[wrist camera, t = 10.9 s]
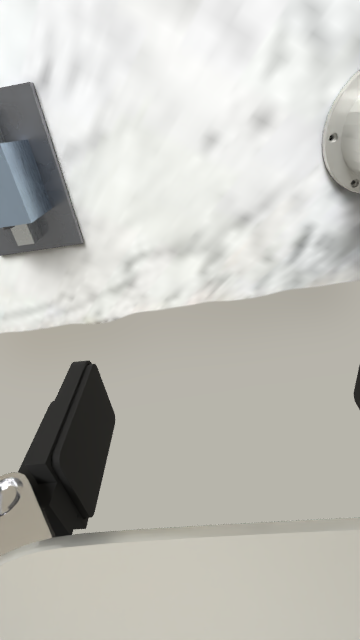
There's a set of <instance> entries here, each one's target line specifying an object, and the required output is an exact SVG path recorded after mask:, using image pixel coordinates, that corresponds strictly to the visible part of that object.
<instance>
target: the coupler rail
mask: <svg viewBox="0 0 360 640" xmlns="http://www.w3.org/2000/svg"><path fill="white" fill-rule="evenodd" d="M27 139H28V141H29V144H30V147H31V150H32V152H33V155H34V158H35V161H36V164H37V167H38V170H39V172H40V175H41V178H42V181H43V184H44V187H45V189H46V192H47V195H48V198H49V201H50V204H51V206H52V209H51V210H49V211H48V212H46V213H45V214H44V215H42V216H41V217H39V218H38V219H36V220H35V221H34V222H32V223H28V224H22V225H15V227H13V228H10V229H6V230H3V229H2V228H0V256H1V255H7V254H14V253H21V252H28V251H34V250H41V249H48V248H55V247H61V246H68V245H75V244H82V243H83V242H84V241H83V237H82V234H81V231H80V228H79V225H78V222H77V219H76V216H75V213H74V209H73V206H72V203H71V200H70V197H69V194H68V191H67V188H66V184H65V181H64V178H63V175H62V172H61V169H60V166H59V163H58V159H57V156H56V153H55V150H54V147H53V144H52V141H51V138H50V135H49V131H48V128H47V125H46V122H45V119H44V116H43V113H42V110H41V106H40V103H39V100H38V97H37V94H36V91H35V88H34V85H33V83H31V82H28V83H23V84H18V85H12V86H7V87H2V88H0V143H6V142H13V141H20V140H27Z"/></svg>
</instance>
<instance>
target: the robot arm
mask: <svg viewBox="0 0 360 640" xmlns="http://www.w3.org/2000/svg"><path fill="white" fill-rule="evenodd" d="M331 135H332V139H331V140H329V138H330V136H331ZM322 148H323V157H324V161H325V165H326V167H327V169H328V171H329V173H330V175H331V176H332V177H333V179H334V180H335V181H336V182H337V183H338V184H340V185H341V186H342V187H344V188H345V189H348V190H350V191H352V192H356V193H359V194H360V70H359V71H358V72H356V73H355V74H354V75H353V76H352V77H351V78H350V80H349V81H348V82H347V83H346V84H345V86H344V87H343V88H342V89H341V91H340V93H339V94H338V96H337V97H336V99H335V100H334V102H333V105H332V107H331V109H330V111H329V113H328V116H327V119H326V123H325V126H324V131H323V140H322ZM352 181H353V183H352V184H351V182H352ZM354 399H355V402H356V404H357V406H358V407H359V409H360V366H359V371H358V375H357V380H356V385H355V389H354ZM114 425H115V414H114V411H113V408H112V406H111V403H110V400H109V398H108V395H107V392H106V390H105V387H104V385H103V382H102V379H101V377H100V374H99V371H98V368H97V366H96V365H95V364H92V363H91V362H90V361H79V362H73V363H72V364H71V366H70V368H69V371H68V373H67V375H66V377H65V379H64V382H63V384H62V386H61V388H60V390H59V392H58V395H57V397H56V399H55V401H53V402H52V403H51V404H50V406H49V407H48V410H47V412H46V414H45V416H44V418H43V420H42V422H41V424H40V427H39V429H38V431H37V433H36V435H35V438H34V439H33V442H32V444H31V446H30V448H29V450H28V452H27V454H26V457H25V458H24V461H23V463H22V465H21V467H20V469H19V471H18V473H17V472H13V473H8V474H5V475H3V476H0V640H360V517H358V518H336V519H316V520H296V521H278V522H260V523H241V524H223V525H204V526H187V527H170V528H154V529H137V530H123V531H110V532H97V533H84V534H75V535H72V532H73V529H86V526H87V522H88V518H89V517H92V516H93V515H94V512H95V508H96V504H97V499H98V495H99V491H100V486H101V482H102V477H103V473H104V468H105V464H106V460H107V456H108V451H109V447H110V442H111V438H112V434H113V430H114Z"/></svg>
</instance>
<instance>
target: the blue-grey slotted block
mask: <svg viewBox="0 0 360 640" xmlns="http://www.w3.org/2000/svg"><path fill="white" fill-rule="evenodd" d="M51 209H52V206H51V204H50V201H49V198H48V195H47V192H46V189H45V187H44V184H43V181H42V178H41V175H40V172H39V170H38V167H37V164H36V161H35V158H34V155H33V152H32V150H31V147H30V144H29V141H28V139H27V140H20V141H13V142H6V143H0V228H2V229H3V230H6V229H10V228H13V227H15V225H22V224H28V223H32V222H34V221H35V220H36V219H38V218H39V217H41V216H42V215H44V214H45V213H46V212H48V211H49V210H51Z"/></svg>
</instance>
